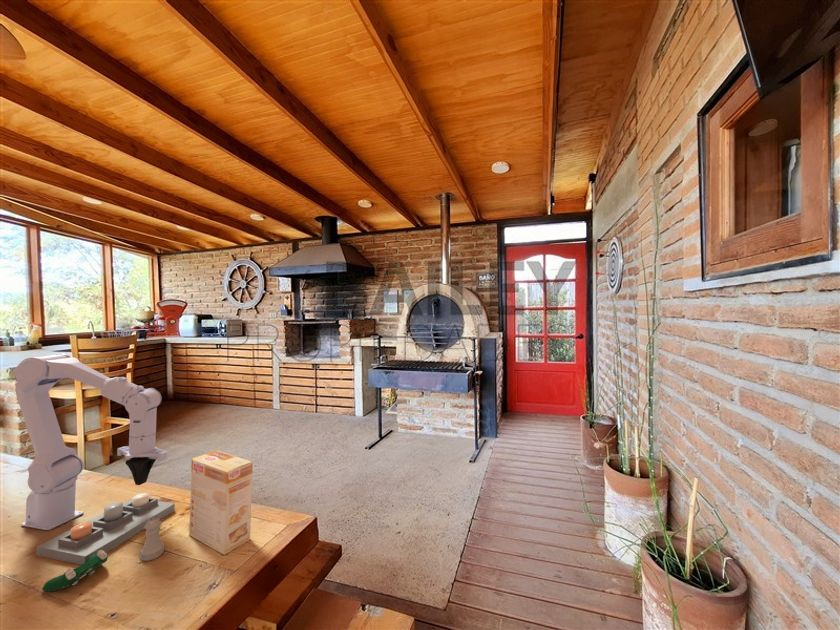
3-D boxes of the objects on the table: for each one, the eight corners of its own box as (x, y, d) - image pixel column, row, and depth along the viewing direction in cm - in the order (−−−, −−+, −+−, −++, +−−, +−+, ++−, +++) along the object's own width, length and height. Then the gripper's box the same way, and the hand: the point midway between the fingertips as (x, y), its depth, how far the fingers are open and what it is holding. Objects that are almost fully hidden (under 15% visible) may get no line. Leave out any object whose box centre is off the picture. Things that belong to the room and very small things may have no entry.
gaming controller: (48, 604, 67) (64, 587, 66) (38, 587, 68) (55, 570, 67) (101, 570, 76) (116, 555, 75) (92, 556, 77) (107, 541, 76)
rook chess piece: (168, 551, 80) (169, 517, 80) (148, 564, 76) (149, 528, 76) (155, 546, 82) (156, 513, 82) (134, 559, 78) (136, 523, 78)
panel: (36, 555, 78) (36, 539, 78) (134, 504, 99) (134, 492, 99) (84, 565, 75) (85, 549, 75) (174, 510, 97) (174, 498, 97)
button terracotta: (66, 543, 79) (66, 530, 79) (84, 533, 83) (84, 521, 83) (78, 545, 78) (78, 532, 78) (95, 535, 82) (96, 523, 82)
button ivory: (128, 509, 93) (128, 498, 93) (141, 503, 96) (141, 492, 96) (139, 511, 92) (139, 500, 92) (152, 504, 96) (152, 493, 96)
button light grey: (99, 521, 86) (100, 509, 86) (115, 513, 89) (115, 501, 89) (111, 523, 85) (111, 511, 85) (126, 515, 89) (126, 503, 89)
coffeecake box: (251, 539, 85) (253, 461, 86) (223, 556, 79) (226, 472, 79) (215, 521, 93) (218, 449, 93) (187, 535, 86) (190, 458, 86)
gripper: (105, 436, 92) (104, 486, 92) (150, 441, 89) (148, 493, 89) (132, 428, 99) (130, 475, 99) (174, 433, 96) (172, 481, 96)
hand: (140, 483), depth 94 cm, fingers closed
